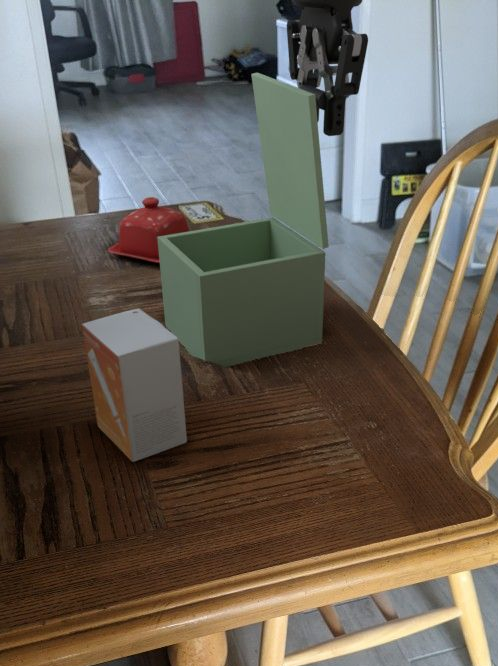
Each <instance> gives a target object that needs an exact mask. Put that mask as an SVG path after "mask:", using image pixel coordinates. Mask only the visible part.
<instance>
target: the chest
mask: <svg viewBox="0 0 498 666" xmlns="http://www.w3.org/2000/svg"><path fill="white" fill-rule="evenodd" d="M157 239H158V250H159V261H160V263H159V270H160V272H159V273H160V282H161V293H162V303H163V313H164V324H165V325H164V327H165V328H166V329H167V330H170V331H171V333H172V334H174V335H175V336H176V337H177V338H178V340H179V344H180V345H181V346H182V347H183V346H184V347H185V348H184V347H183V348H184V349H185V350H186V351H187V353H188V354H189V355H190V356H191V357H194V358H197V359H201V360H203V362H209V363H212V364H214V365H218V366H222V367H224V368H229V367H233V366H237V365H236V364H238V365H241V364H240V363H242V364H244V363H243V362H246V363H248V362H247V361H250V362H252V361H251V360H254V361H256V360H255V359H258V358H262V357H266V356H270V355H273V354H279V353H282V352H288V351H291V350H292V352H294V351H293V350H296V349H300V348H303V347H305V346H309V345H314V344H318V343H322V344H323V325H324V300H325V278H326V277H325V276H326V251H324V249H322V248H320V247H319V246H317V245H316V244H314V243H313V242H311V241H310V240H308V239H307V238H305V237H304V236H302V235H301V234H299V233H298V232H296V231H295V230H293V229H292V228H290V227H289V226H287V225H286V224H284V223H283V222H281V221H280V220H278V219H277V218H275V217H274V216H272V217H265V218H261V219H254V220H248V221H243V222H236V223H230V224H225V225H220V226H214V227H207V228H202V229H195V230H190V231H189V232H183V233H177V234H171V235H165V236H159V237H157ZM300 350H301V349H300ZM296 351H297V350H296ZM288 353H289V352H288ZM279 355H280V354H279ZM258 360H259V359H258Z"/></svg>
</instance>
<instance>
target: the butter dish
mask: <svg viewBox="0 0 498 666" xmlns="http://www.w3.org/2000/svg"><path fill="white" fill-rule="evenodd" d="M159 203H160V200H159V198H157V197H153V196H150V197H149V196H148V197H146V198H144V199H142V200H141V204H142V206H144V207H141V208H138V209H136V210H134V211H132V212H130V213H129V214H127V215H126V216H125V217H124V218H122V220H121V221H120V223H119V230H118V242H117V243H115V244H113V245H112V246H110V247H109V248H108V249H107V252H108V253H109V254H113V255H117V256H122V257H126V258H127V257H128V258H133V259H137V260H141V261H147V262H151V263H156V264H160V261H159V250H158V239H157V237H159V236H165V235H171V234H177V233H183V232H189V231H191V230H190V228H189V224H188V222H187V219H186V217H185V215H184V213H182V212H181V211H178V210H176V209H173V208H170V207H164V206H159Z"/></svg>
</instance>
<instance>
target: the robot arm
mask: <svg viewBox="0 0 498 666" xmlns="http://www.w3.org/2000/svg"><path fill="white" fill-rule="evenodd" d="M291 2H292V4H293V5H295V6H297V7H302V9H301V15H300V18H299V19H294V20H293V19H292V20H288V21H287V22H286V38H287V50H288V51H287V52H288V53H287V54H288V66H289V76H290V79H291V81H292V80H293V81H296V87H297V88H299V87H300V86H302V85H304V84H306V85H309V86H312V87H314V88H317V89H319V88H320V86H321V82H322V79H323V86H324V91H325V95H326V98H327V99H325V106H324V110H323V127H322V132H323V134H324V135H325V136H328V137H335V136H341V135H342V134H343V133H344V128H345V115H346V101H347V99H348V98H349V97H350V96H354V95H355V96H357V95H358V94H359V93H360V87H361V82H362V77H363V71H364V65H365V61H366V55H367V50H368V45H369V35H368V34H367V33H357V32H355V30H354V25H353V20H352V19H353V17H352V10H353V8H356V7H358V6H360V5H361V4H362V3H363V0H291ZM349 74H351V78H349V77H350V76H349ZM333 76H335V80H334V77H333ZM316 110H317V122H318V123H319V121H320V109H319V108H317V107H316Z"/></svg>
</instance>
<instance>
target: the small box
mask: <svg viewBox="0 0 498 666" xmlns="http://www.w3.org/2000/svg"><path fill="white" fill-rule="evenodd" d="M81 330H82V335H83V342H84V347H85V354H86V360H87V366H88V374H89V379H90V386H91V391H92V396H93V397H92V399H93V404H94V405H93V406H94V411H95V417H96V418H95V419H96V424H97V428H99V429H100V430H101V431H102V432H103V433H104V435H106V437H107V438H109V439H110V441H112V442H113V444H114V445H115V446H116V447H117V448H118V449H119V450H120V451H121V452H122V453H123V454H124V455H125V456H126V457H127V458H128V459H129V461H130V462H132V463H134V462H138V461H139V460H142V459H145V458H148V457H150V456H153V455H157V454H160V453H161V452H164V451H167V450H169V449H172V448H175V447H178V446H181V445H183V444H186V443H187V442H188V437H187V435H188V434H187V426H186V425H187V424H186V413H185V402H184V401H185V400H184V388H183V387H184V386H183V377H182V376H183V375H182V365H181V353H180V342H179V340H178V338H177V337H176V336H175V335H174V334H172V333H171V332H170V331H169V329H168V328H167V327H166V326H165V325H163V324H162V323H161V322H160V321H158V320H157V319H155V318H153V317H152V316H150V315H149V314H148V313H146V312H145V311H144V310H143V309H141V308H134V309H130V310H125V311H122V312H118V313H115V314H111V315H107V316H103V317H101V318H97V319H94V320H90V321H86V322H84V323H83V322H82V323H81Z"/></svg>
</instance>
